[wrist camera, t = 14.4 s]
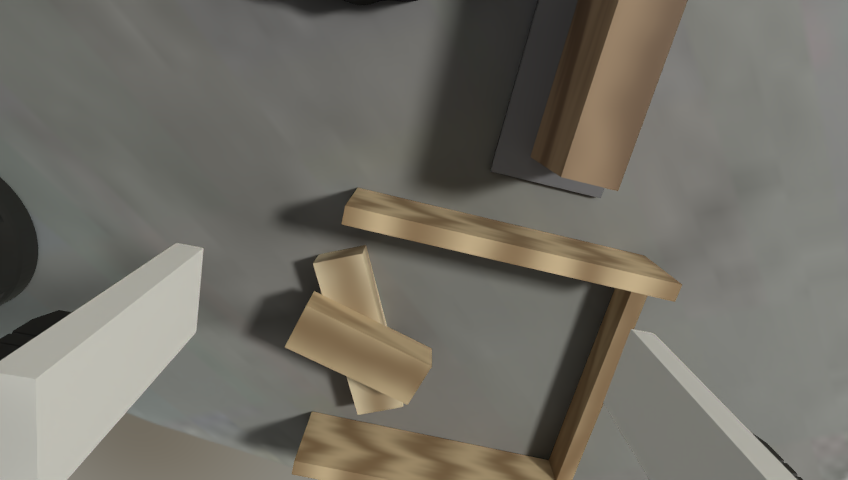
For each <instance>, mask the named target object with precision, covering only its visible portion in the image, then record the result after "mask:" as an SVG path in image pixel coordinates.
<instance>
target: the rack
mask: <svg viewBox="0 0 848 480" xmlns="http://www.w3.org/2000/svg"><path fill="white" fill-rule="evenodd" d="M342 225H346V226H351V227H355V228H359V229H363V230H368V231H372V232H376V233H381V234H385V235H389V236H394V237H398V238H402V239H407V240H411V241H415V242H420V243H424V244H428V245H432V246H437V247H441V248H445V249H450V250H454V251H458V252H463V253H467V254H471V255H476V256H480V257H484V258H489V259H493V260H497V261H501V262H506V263H510V264H514V265H519V266H523V267H527V268H532V269H536V270H540V271H545V272H549V273H553V274H558V275H562V276H566V277H570V278H575V279H579V280H583V281H588V282H592V283H596V284H601V285H605V286H609V287H614V288H615V290H614V292H613V295H612V298H611V300H610V303H609V305H608V308H607V311H606V313H605V316H604V318H603V321H602V324H601V326H600V329H599V331H598V334H597V337H596V339H595V342H594V344H593V347H592V349H591V352H590V355H589V357H588V360H587V362H586V365H585V368H584V370H583V373H582V375H581V378H580V381H579V383H578V386H577V388H576V391H575V394H574V396H573V399H572V401H571V404H570V407H569V409H568V412H567V414H566V417H565V419H564V422H563V425H562V427H561V430H560V432H559V435H558V438H557V440H556V443H555V445H554V448H553V451H552V453H551V456H550V458H549V460H545V459H540V458H535V457H531V456H526V455H521V454H516V453H511V452H506V451H501V450H497V449H492V448H487V447H482V446H477V445H472V444H467V443H462V442H458V441H453V440H448V439H443V438H438V437H433V436H428V435H424V434H419V433H414V432H409V431H404V430H399V429H394V428H390V427H385V426H380V425H375V424H370V423H365V422H360V421H356V420H351V419H346V418H341V417H336V416H331V415H326V414H321V413H317V412H311V415H310V418H309V421H308V424H307V427H306V429H305V432H304V435H303V438H302V441H301V444H300V446H299V449H298V452H297V455H296V458H295V461H294V465H293V471H292V474H293V475H298V476H303V477H308V478H313V479H319V480H572V479H573V477H574V474H575V472H576V469H577V467H578V464H579V462H580V459H581V457H582V455H583V452H584V450H585V447H586V445H587V442H588V440H589V437H590V435H591V433H592V430H593V428H594V425H595V423H596V420H597V418H598V415H599V413H600V411H601V408H602V406H603V402H604V399H605V397H606V394H607V391H608V389H609V386H610V383H611V381H612V378H613V375H614V373H615V370H616V367H617V365H618V362H619V359H620V357H621V354H622V352H623V349H624V346H625V344H626V341H627V338H628V336H629V333H630V330H631V329H634V327H635V325H636V322H637V320H638V318H639V315H640V313H641V310H642V308H643V305H644V303H645V300H646V298H647V296H652V297H657V298H661V299H665V300H670V301H674V302H675V300H676V298H677V296H678V293H679V291H680V289H681V286H682V284H681V283H679V282H678V281H677V280H675V279H674V278H673V277H672V276H670V275H669V274H668V273H666V272H665V271H664V270H662V269H661V268H660V267H658V266H657V265H656V264H655V263H653V262H652V261H651V260H649V259H648V258H647V257H645V256H643V255H639V254H635V253H631V252H627V251H622V250H618V249H614V248H610V247H605V246H601V245H597V244H593V243H589V242H584V241H580V240H576V239H572V238H568V237H563V236H559V235H555V234H551V233H547V232H542V231H538V230H534V229H530V228H525V227H521V226H517V225H513V224H509V223H504V222H500V221H496V220H492V219H488V218H483V217H479V216H475V215H471V214H466V213H462V212H458V211H454V210H450V209H445V208H441V207H437V206H433V205H429V204H424V203H420V202H416V201H412V200H408V199H403V198H399V197H395V196H391V195H386V194H382V193H378V192H374V191H370V190H365V189H361V188H357V189H356V191H355V192H354V194H353V195H352V197H351V198H350V199H349V201H348V202H347V204H346V205H345V209H344V214H343V219H342Z"/></svg>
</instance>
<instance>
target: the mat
mask: <svg viewBox="0 0 848 480" xmlns="http://www.w3.org/2000/svg"><path fill="white" fill-rule="evenodd" d="M577 2H578V0H538V3H537V6H536V10H535V13H534V17H533V21H532V24H531V28H530V31H529V35H528V38H527V42H526V45H525V49H524V52H523V56H522V59H521V63H520V67H519V70H518V74H517V77H516V81H515V84H514V88H513V91H512V95H511V98H510V102H509V105H508V109H507V113H506V116H505V120H504V123H503V127H502V130H501V134H500V137H499V141H498V144H497V148H496V151H495V155H494V159H493V162H492V166H491V169H490V171H491V172H495V173H499V174H503V175H507V176H512V177H516V178H520V179H524V180H528V181H532V182H536V183H540V184H544V185H548V186H553V187H557V188H561V189H565V190H569V191H573V192H577V193H581V194H585V195H589V196H593V197H598V198H601V196H602V193H603V190H604V188H603V187H599V186H595V185H591V184H587V183H583V182H579V181H575V180H571V179H567V178H563V177H560V176H559V175H557V174H556V173H554V172H552V171H551V170H549V169H548V168H546V167H545V166H543V165H542V164H540V163H539V162H537V161H536V160H534V159H533V158H531V157H530V156H531V153H532V150H533V147H534V143H535V140H536V137H537V133H538V130H539V127H540V124H541V120H542V117H543V114H544V110H545V107H546V104H547V101H548V97H549V94H550V91H551V87H552V84H553V81H554V78H555V74H556V71H557V68H558V64H559V61H560V58H561V55H562V51H563V48H564V45H565V41H566V38H567V35H568V32H569V28H570V25H571V22H572V19H573V15H574V12H575V9H576V5H577Z"/></svg>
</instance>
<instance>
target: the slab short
mask: <svg viewBox="0 0 848 480" xmlns="http://www.w3.org/2000/svg"><path fill="white" fill-rule="evenodd" d="M285 348H287V349H289V350H292V351H294V352H296V353H298V354H300V355H302V356H304V357H307V358H309V359H311V360H313V361H315V362H317V363H319V364H321V365H324V366H326V367H328V368H330V369H332V370H334V371H336V372H339V373H341V374H343V375H345V376H347V377H349V378H351V379H353V380H356V381H358V382H360V383H362V384H364V385H366V386H368V387H371V388H373V389H375V390H377V391H379V392H381V393H383V394H385V395H388V396H390V397H392V398H394V399H396V400H398V401H400V402H403V403H405V404H407V405H408V403H409V402H410V400H411V399H412V397H413V395H414V394H415V392H416V391H417V389H418V387H419V386H420V384H421V383H422V381H423V380H424V378H425V376H426V375H427V373H428V372H429V370H430V368H431V367H432V349H431V348H429V347H427V346H425V345H423V344H421V343H419V342H417V341H415V340H413V339H411V338H409V337H407V336H405V335H403V334H401V333H399V332H397V331H395V330H393V329H391V328H389V327H387V326H385V325H382V324H380V323H378V322H376V321H374V320H372V319H370V318H368V317H366V316H364V315H362V314H360V313H358V312H356V311H354V310H352V309H350V308H348V307H346V306H344V305H342V304H340V303H338V302H336V301H334V300H331V299H329V298H327V297H325V296H323V295H321V294H319V293H317V292H315V291H314V292H313V294H312V296H311V298H310V300H309V301H308V303H307V305H306V307H305V309H304V311H303V313H302V315H301V317H300V318H299V320H298V322H297V324H296V326H295V328H294V330H293V332H292V334H291V336H290V338H289V340H288V342H287V344H286V345H285Z"/></svg>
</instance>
